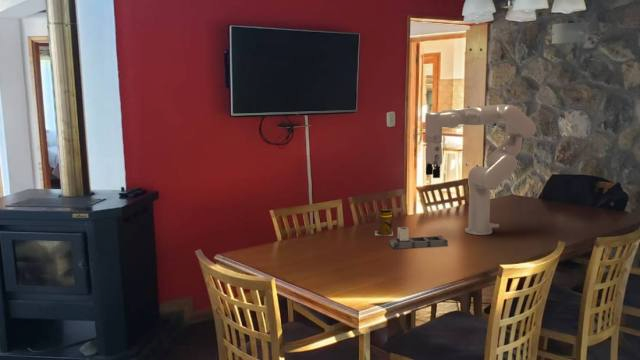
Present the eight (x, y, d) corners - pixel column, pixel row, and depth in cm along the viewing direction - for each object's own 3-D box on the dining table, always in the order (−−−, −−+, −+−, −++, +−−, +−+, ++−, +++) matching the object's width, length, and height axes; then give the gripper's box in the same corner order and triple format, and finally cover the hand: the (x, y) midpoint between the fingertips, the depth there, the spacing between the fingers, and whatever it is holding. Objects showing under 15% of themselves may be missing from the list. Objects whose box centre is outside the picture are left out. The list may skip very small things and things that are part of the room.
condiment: (393, 235, 267) (393, 211, 265) (374, 235, 268) (375, 210, 266) (392, 231, 274) (392, 207, 272) (374, 231, 275) (375, 207, 273)
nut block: (406, 244, 252) (406, 226, 251) (408, 246, 248) (408, 228, 247) (397, 244, 252) (397, 226, 250) (399, 247, 248) (399, 228, 246)
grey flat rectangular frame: (441, 241, 257) (441, 235, 256) (447, 246, 249) (447, 240, 248) (389, 243, 253) (389, 238, 253) (394, 248, 245) (394, 243, 245)
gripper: (448, 140, 251) (447, 178, 254) (434, 137, 268) (434, 173, 271) (431, 141, 250) (431, 179, 253) (419, 137, 267) (419, 173, 270)
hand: (432, 176), depth 262 cm, fingers open, 9 cm apart
